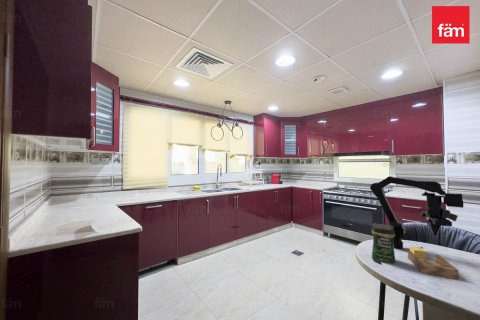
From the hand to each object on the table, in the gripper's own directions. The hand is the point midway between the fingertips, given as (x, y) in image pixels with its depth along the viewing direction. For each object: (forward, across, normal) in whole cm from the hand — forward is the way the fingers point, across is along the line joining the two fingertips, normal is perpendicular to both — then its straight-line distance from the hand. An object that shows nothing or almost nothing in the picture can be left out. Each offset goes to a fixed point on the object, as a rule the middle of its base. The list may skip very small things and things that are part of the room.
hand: (435, 235), depth 105 cm
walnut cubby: (+12, -16, +8) cm, 22 cm away
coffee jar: (+12, -15, +26) cm, 32 cm away
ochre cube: (+12, -4, +8) cm, 15 cm away
